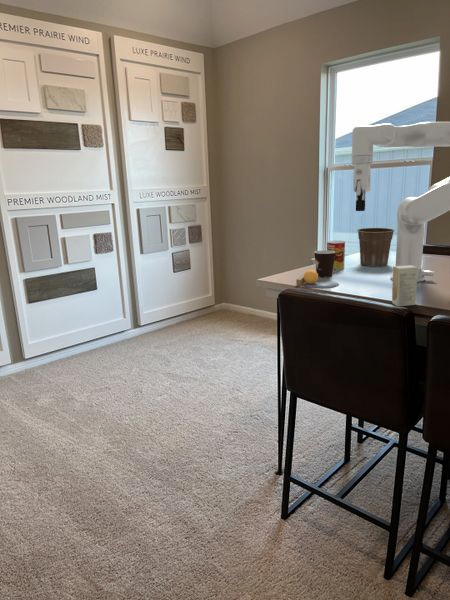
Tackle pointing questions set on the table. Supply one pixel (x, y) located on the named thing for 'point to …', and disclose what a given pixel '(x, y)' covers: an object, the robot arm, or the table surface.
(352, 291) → the table surface
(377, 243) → the plant pot
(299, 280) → the stopper rail
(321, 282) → the disc
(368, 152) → the robot arm
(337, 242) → the canned food
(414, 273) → the skincare box
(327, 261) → the coffee mug
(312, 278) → the ball
